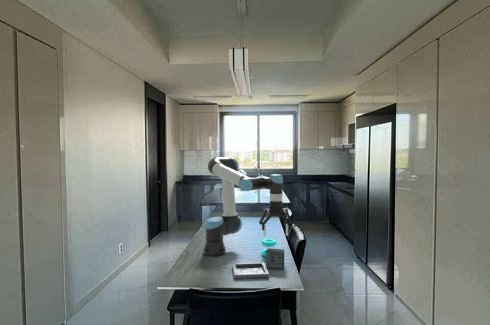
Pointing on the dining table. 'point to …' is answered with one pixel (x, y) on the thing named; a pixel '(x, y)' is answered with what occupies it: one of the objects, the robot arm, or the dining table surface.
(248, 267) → the tray
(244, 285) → the dining table surface
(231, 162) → the robot arm
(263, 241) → the donuts
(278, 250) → the small box
